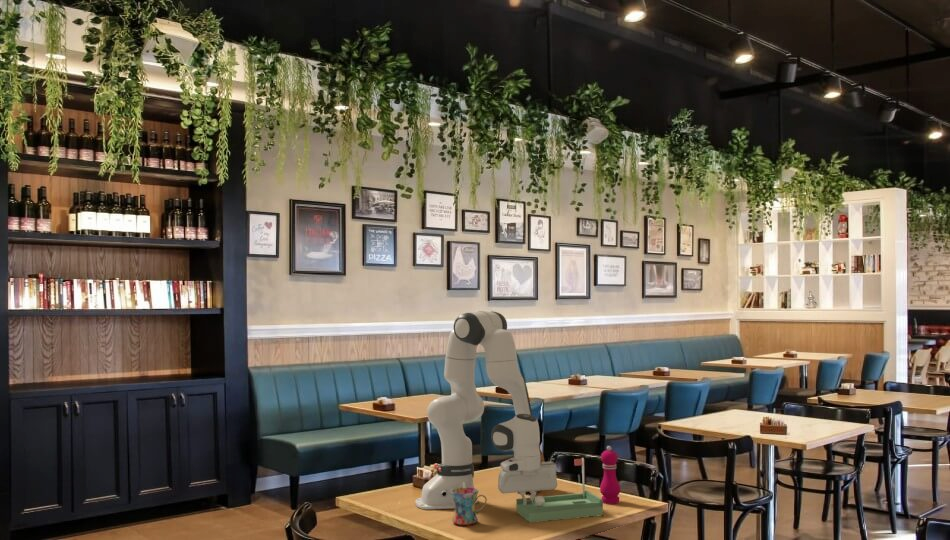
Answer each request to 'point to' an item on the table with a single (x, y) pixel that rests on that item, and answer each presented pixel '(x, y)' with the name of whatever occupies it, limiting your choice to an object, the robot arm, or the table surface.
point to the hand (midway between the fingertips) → (528, 504)
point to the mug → (465, 505)
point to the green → (563, 505)
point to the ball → (539, 501)
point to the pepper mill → (609, 477)
